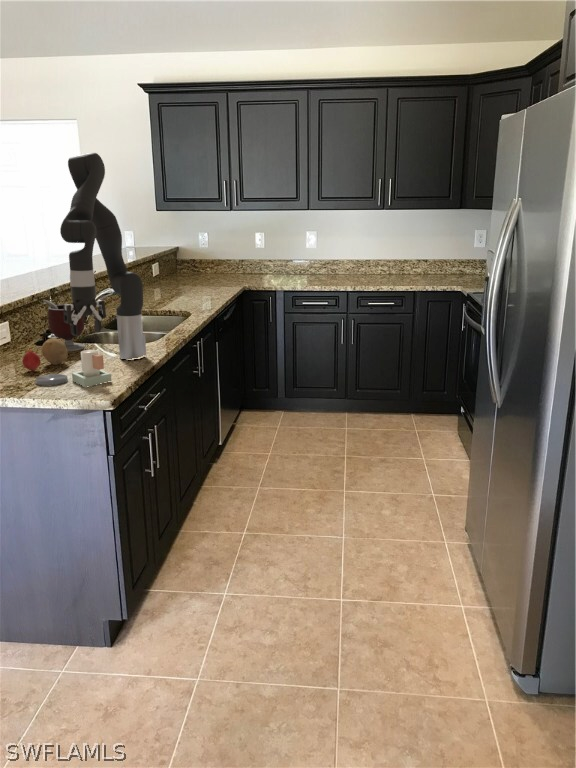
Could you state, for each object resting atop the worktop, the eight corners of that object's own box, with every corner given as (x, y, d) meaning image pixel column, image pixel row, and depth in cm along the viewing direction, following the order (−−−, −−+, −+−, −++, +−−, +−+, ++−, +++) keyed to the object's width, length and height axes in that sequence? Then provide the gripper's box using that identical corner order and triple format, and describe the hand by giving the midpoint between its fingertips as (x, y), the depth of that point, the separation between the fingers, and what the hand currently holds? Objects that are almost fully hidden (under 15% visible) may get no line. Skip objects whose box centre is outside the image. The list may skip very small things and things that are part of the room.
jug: (79, 382, 200) (77, 351, 197) (94, 378, 204) (91, 348, 201) (95, 387, 195) (92, 356, 192) (109, 383, 199) (107, 352, 196)
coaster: (60, 375, 207) (60, 372, 206) (72, 382, 200) (72, 378, 199) (31, 381, 200) (30, 377, 200) (42, 387, 193) (42, 384, 193)
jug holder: (98, 376, 207) (98, 368, 206) (111, 382, 200) (110, 373, 199) (72, 381, 200) (71, 372, 199) (85, 387, 194) (84, 378, 193)
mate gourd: (91, 344, 252) (87, 297, 247) (81, 352, 239) (76, 302, 233) (54, 343, 252) (49, 296, 246) (42, 351, 239) (36, 302, 233)
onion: (23, 374, 208) (21, 351, 206) (23, 369, 213) (21, 348, 211) (41, 372, 210) (39, 350, 208) (41, 368, 215) (38, 346, 213)
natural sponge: (42, 362, 223) (39, 336, 220) (67, 360, 227) (64, 334, 224) (43, 368, 215) (40, 341, 212) (69, 366, 219) (66, 339, 216)
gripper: (94, 281, 198) (98, 329, 203) (56, 285, 187) (60, 335, 192) (108, 283, 194) (111, 332, 199) (69, 287, 183) (74, 338, 188)
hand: (86, 333), depth 195 cm, fingers open, 8 cm apart
